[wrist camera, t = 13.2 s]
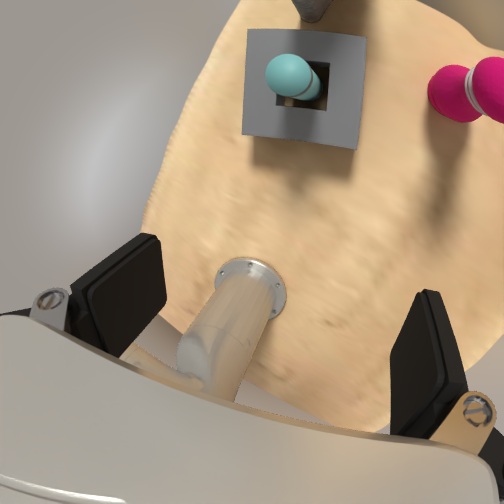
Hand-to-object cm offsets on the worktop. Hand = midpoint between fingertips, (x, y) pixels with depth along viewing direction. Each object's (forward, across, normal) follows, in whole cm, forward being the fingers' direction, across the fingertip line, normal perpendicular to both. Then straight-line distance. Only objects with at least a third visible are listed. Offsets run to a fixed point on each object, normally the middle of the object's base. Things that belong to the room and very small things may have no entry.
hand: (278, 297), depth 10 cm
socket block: (+32, +4, -9) cm, 34 cm away
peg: (+32, +4, -9) cm, 34 cm away
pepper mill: (+32, -15, -12) cm, 38 cm away
